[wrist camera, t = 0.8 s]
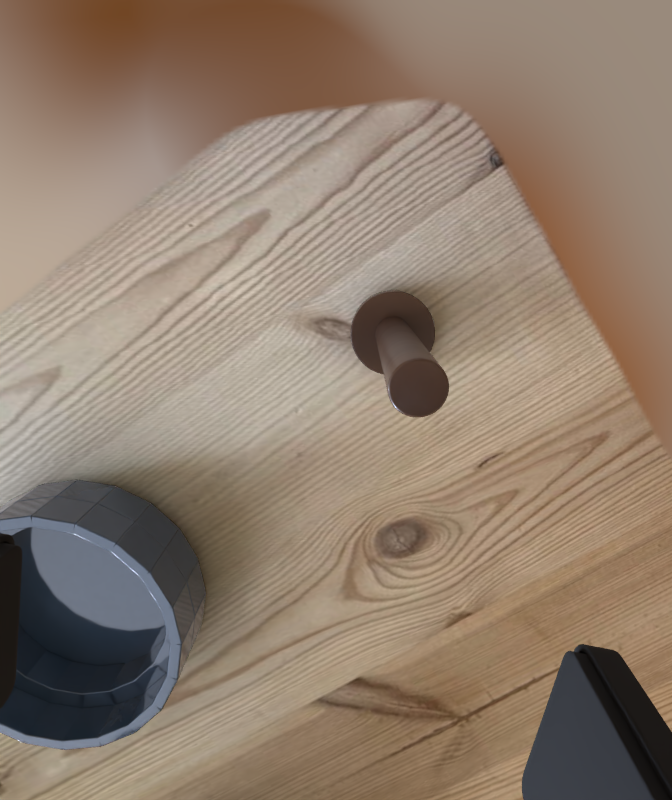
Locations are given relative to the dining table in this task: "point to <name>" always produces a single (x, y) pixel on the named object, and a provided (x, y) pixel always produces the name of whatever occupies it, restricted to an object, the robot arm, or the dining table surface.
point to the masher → (401, 351)
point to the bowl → (97, 613)
